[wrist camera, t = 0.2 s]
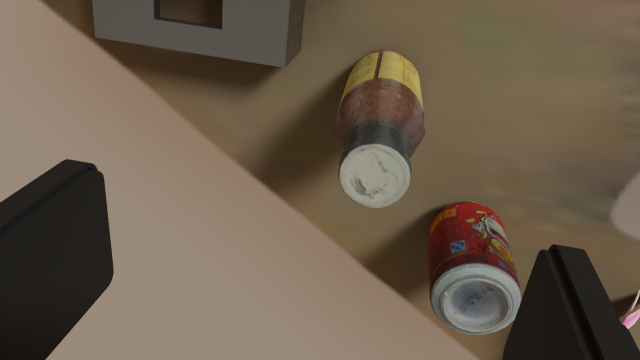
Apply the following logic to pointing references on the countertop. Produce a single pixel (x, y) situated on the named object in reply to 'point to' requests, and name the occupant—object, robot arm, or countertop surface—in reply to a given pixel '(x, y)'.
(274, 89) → the countertop surface
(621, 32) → the countertop surface
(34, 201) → the robot arm
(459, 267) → the soda can
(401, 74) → the sauce bottle
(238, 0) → the slotted grey box
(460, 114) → the countertop surface
